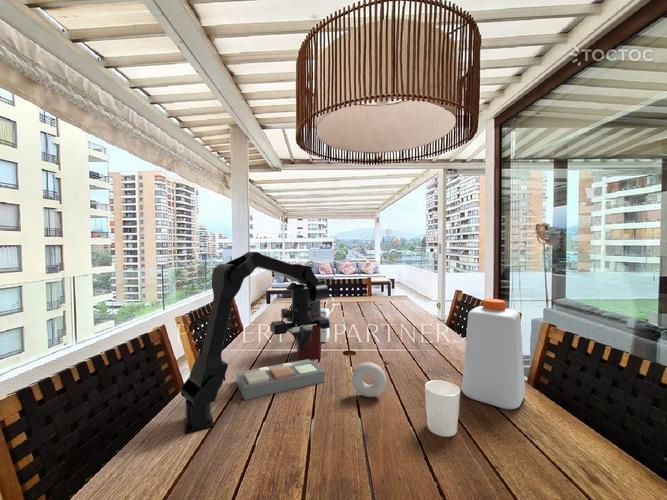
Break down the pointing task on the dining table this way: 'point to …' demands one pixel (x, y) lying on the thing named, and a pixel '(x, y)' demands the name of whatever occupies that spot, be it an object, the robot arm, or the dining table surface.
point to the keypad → (279, 380)
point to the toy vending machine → (312, 336)
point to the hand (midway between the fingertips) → (300, 351)
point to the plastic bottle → (494, 356)
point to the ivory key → (256, 377)
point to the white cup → (442, 407)
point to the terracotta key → (281, 372)
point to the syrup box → (326, 332)
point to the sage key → (305, 369)
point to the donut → (365, 388)
